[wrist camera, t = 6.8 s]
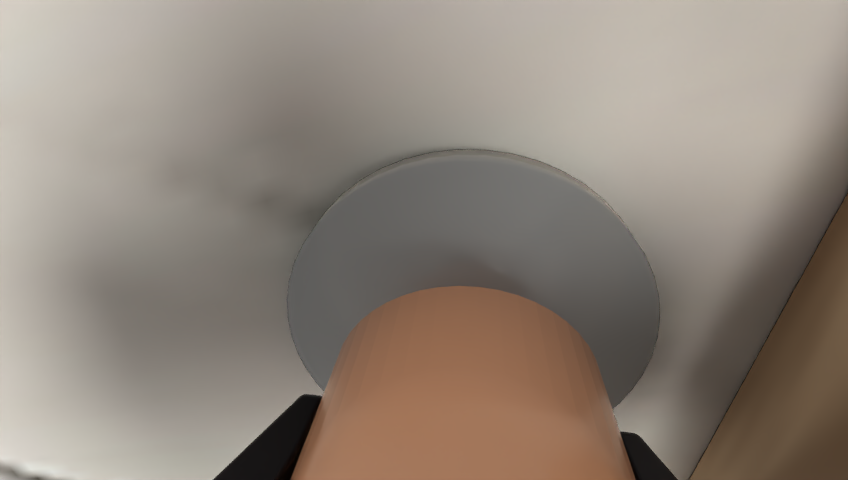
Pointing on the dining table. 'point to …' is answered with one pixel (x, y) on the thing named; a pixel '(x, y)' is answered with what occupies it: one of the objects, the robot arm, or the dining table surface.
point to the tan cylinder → (464, 396)
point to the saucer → (476, 255)
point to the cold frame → (795, 384)
